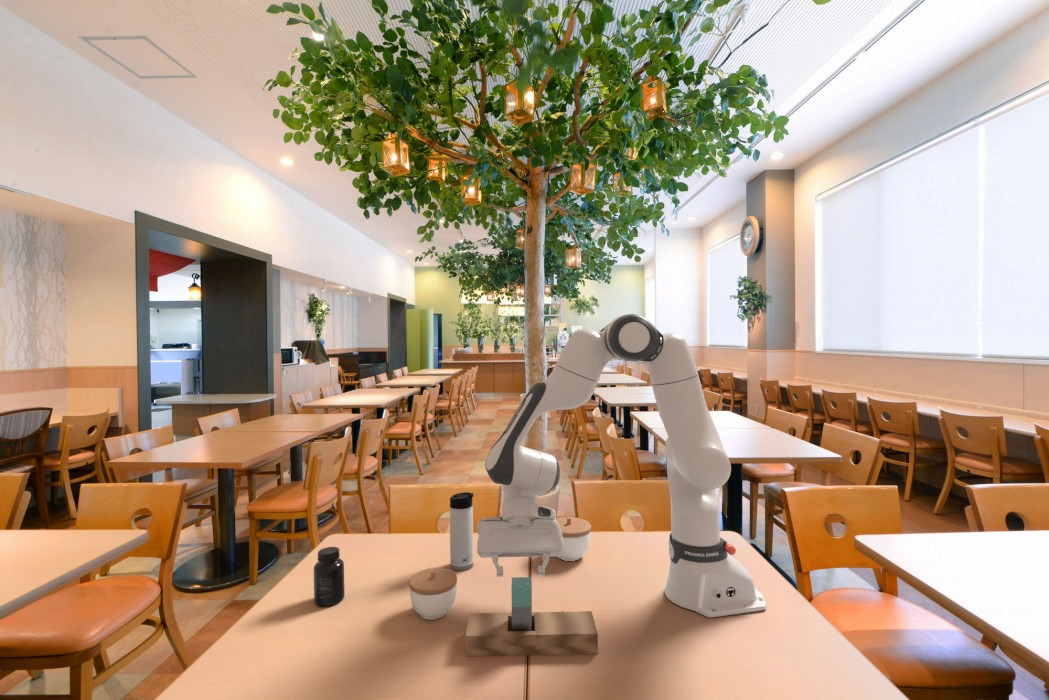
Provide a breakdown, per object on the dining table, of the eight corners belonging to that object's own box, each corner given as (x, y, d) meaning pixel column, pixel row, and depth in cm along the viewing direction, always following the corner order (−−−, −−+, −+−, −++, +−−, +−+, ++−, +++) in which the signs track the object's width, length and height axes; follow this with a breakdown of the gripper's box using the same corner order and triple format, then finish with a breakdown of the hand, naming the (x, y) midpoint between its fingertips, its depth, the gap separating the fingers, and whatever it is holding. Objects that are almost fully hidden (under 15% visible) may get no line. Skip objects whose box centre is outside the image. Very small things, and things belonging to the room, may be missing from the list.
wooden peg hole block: (591, 629, 104) (591, 611, 104) (597, 653, 96) (597, 633, 96) (469, 632, 104) (469, 613, 103) (465, 656, 96) (465, 636, 95)
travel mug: (470, 572, 131) (469, 497, 130) (447, 569, 132) (446, 496, 132) (477, 561, 137) (476, 490, 137) (455, 559, 138) (454, 489, 138)
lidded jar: (439, 594, 119) (439, 556, 119) (466, 612, 111) (466, 571, 111) (400, 612, 111) (400, 571, 111) (426, 631, 104) (426, 588, 104)
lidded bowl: (594, 566, 133) (593, 526, 133) (548, 566, 134) (547, 526, 133) (588, 546, 146) (588, 510, 146) (546, 547, 146) (546, 510, 146)
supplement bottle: (350, 596, 119) (350, 547, 119) (328, 610, 112) (328, 558, 112) (330, 590, 122) (329, 542, 121) (307, 604, 115) (306, 553, 115)
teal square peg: (531, 634, 102) (530, 577, 102) (532, 646, 98) (531, 586, 98) (512, 634, 102) (511, 577, 101) (512, 646, 98) (511, 587, 97)
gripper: (476, 511, 117) (473, 571, 107) (561, 510, 117) (566, 569, 108) (478, 523, 122) (475, 581, 112) (560, 521, 122) (564, 579, 112)
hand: (520, 575), depth 110 cm, fingers open, 8 cm apart
